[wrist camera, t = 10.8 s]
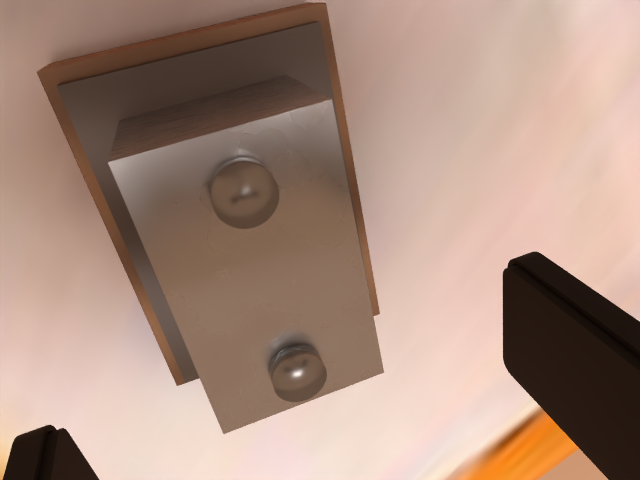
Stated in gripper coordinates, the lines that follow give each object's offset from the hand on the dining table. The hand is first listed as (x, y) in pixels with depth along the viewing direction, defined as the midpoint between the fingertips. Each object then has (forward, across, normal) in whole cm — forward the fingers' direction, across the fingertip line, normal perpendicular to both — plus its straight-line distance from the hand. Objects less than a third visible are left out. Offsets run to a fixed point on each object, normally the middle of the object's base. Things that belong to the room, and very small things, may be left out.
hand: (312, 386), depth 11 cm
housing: (+11, 0, +1) cm, 11 cm away
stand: (+14, 0, +1) cm, 14 cm away
